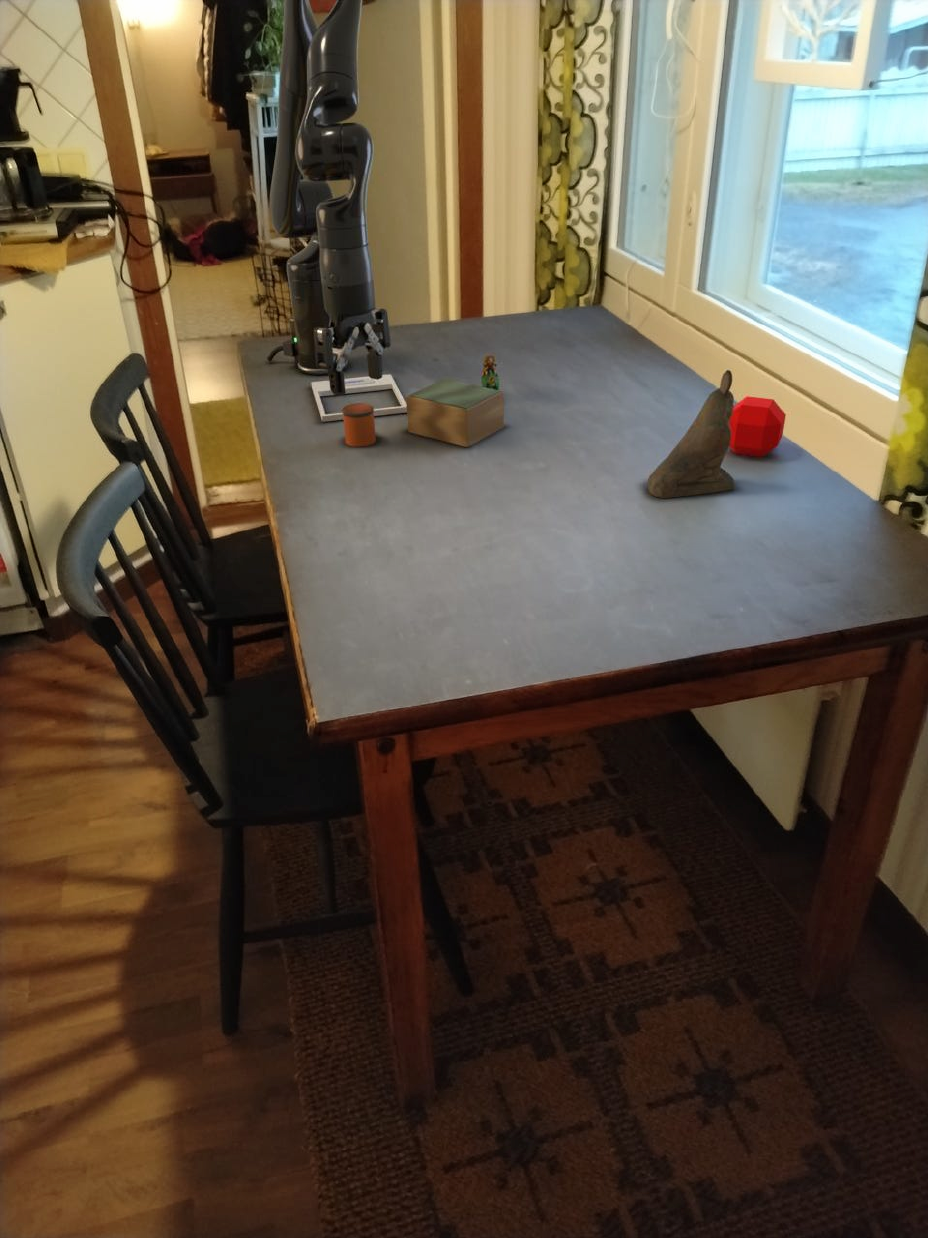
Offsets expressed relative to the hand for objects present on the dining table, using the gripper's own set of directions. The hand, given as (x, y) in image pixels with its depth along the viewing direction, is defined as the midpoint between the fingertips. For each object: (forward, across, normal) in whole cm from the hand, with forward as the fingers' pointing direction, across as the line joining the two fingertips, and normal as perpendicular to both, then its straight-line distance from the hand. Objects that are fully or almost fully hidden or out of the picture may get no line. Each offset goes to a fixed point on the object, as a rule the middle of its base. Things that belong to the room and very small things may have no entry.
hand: (357, 386), depth 148 cm
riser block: (+9, -12, +10) cm, 18 cm away
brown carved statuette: (+10, -12, +51) cm, 53 cm away
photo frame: (+9, -14, -13) cm, 21 cm away
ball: (+10, -29, +53) cm, 61 cm away
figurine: (+9, -26, +7) cm, 28 cm away
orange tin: (+9, 0, 0) cm, 9 cm away
